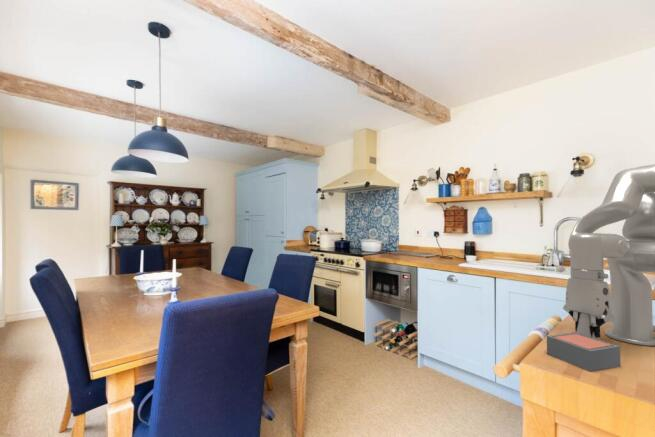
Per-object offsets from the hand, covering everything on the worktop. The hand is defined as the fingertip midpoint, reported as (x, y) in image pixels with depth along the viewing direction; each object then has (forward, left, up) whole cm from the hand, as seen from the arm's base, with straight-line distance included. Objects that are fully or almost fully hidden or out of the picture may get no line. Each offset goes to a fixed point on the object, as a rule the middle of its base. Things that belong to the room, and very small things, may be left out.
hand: (587, 336), depth 90 cm
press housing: (+11, +6, -3) cm, 13 cm away
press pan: (+11, +5, +1) cm, 12 cm away
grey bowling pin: (0, 0, -3) cm, 3 cm away
